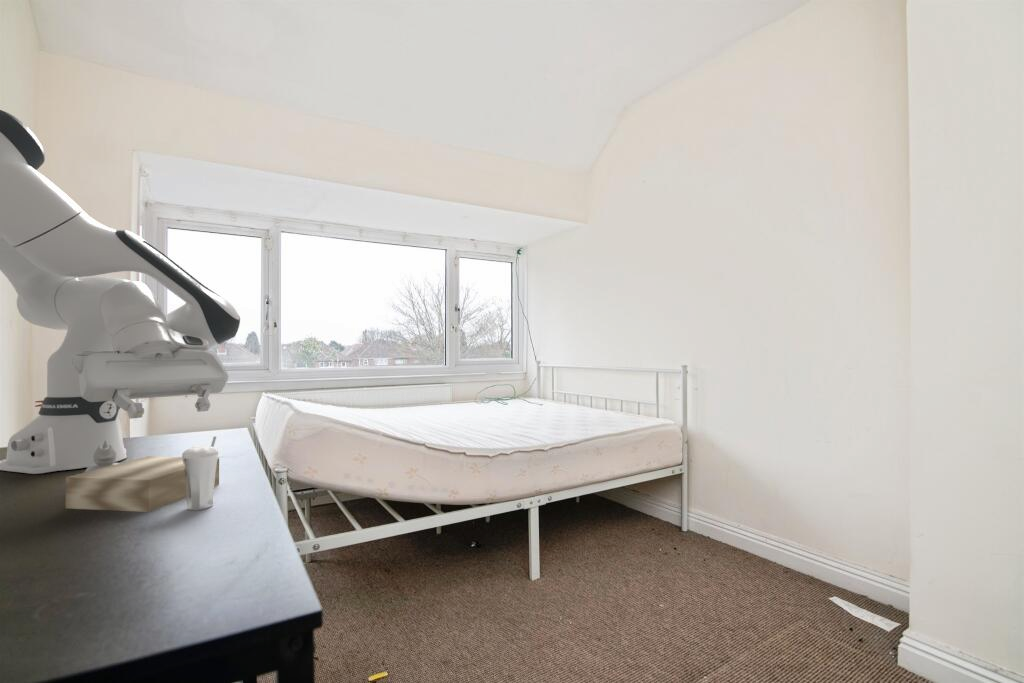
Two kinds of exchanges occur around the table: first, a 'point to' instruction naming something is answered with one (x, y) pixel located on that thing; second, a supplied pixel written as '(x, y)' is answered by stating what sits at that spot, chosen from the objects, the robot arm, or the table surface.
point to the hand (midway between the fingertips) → (172, 412)
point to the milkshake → (200, 475)
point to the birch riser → (130, 485)
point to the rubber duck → (103, 457)
